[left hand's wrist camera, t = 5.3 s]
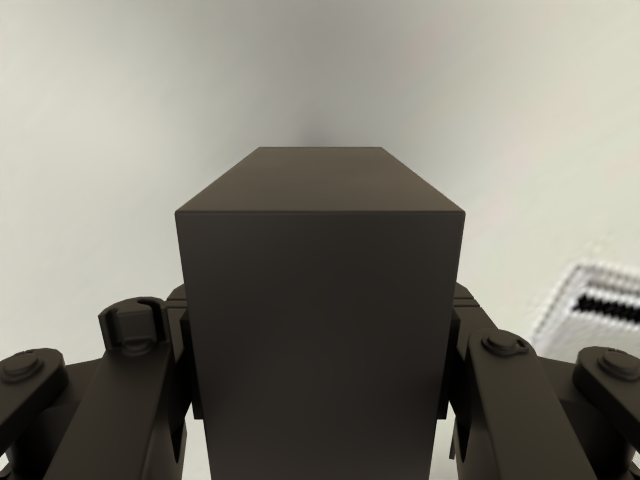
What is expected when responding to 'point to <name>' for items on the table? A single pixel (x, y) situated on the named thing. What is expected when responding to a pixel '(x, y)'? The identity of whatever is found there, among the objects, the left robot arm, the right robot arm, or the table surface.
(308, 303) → the bar
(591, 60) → the table surface
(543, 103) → the table surface
